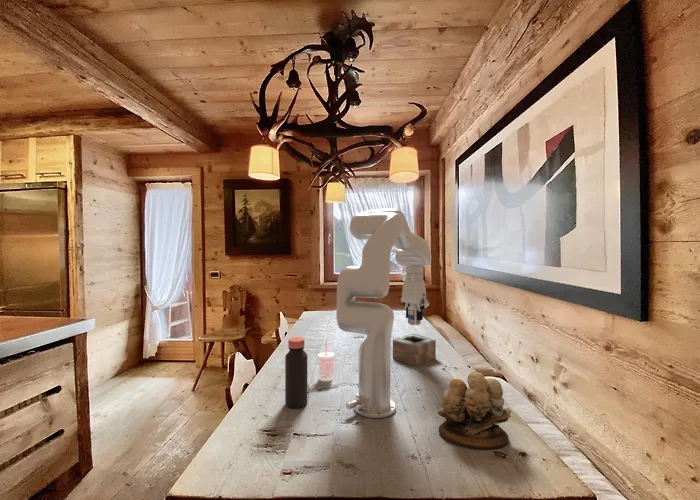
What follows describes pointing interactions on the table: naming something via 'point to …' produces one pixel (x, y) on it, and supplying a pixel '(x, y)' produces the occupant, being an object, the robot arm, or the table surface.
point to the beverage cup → (326, 365)
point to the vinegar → (296, 374)
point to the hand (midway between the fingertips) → (414, 318)
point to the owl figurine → (474, 413)
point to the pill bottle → (413, 315)
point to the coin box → (414, 349)
